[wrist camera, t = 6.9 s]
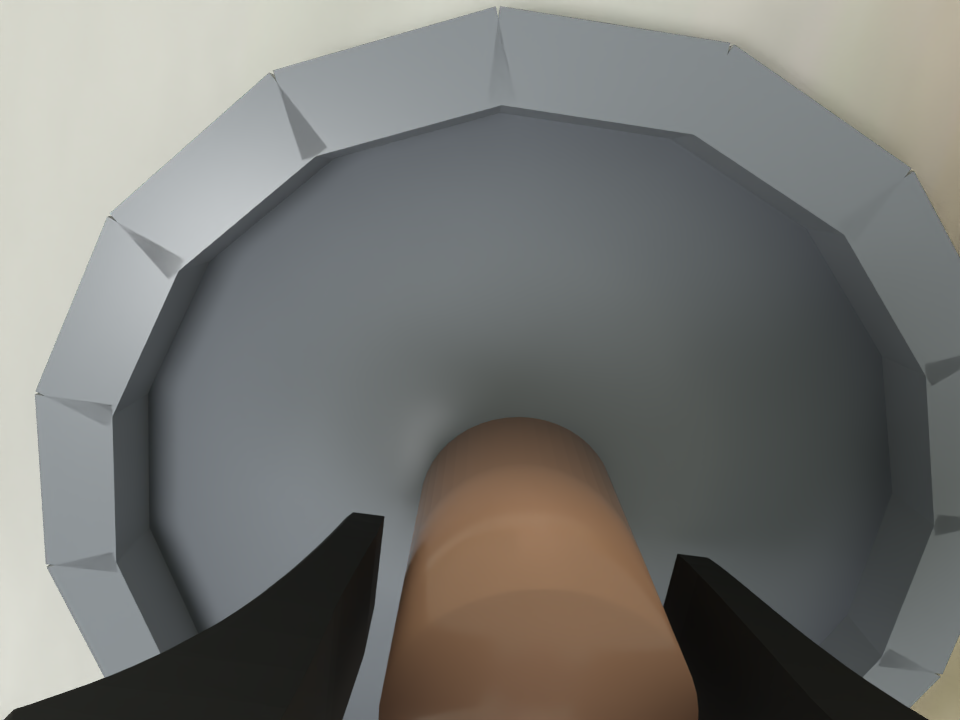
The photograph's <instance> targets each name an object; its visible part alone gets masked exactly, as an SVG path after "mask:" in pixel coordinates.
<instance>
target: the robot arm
mask: <svg viewBox="0 0 960 720" xmlns="http://www.w3.org/2000/svg"><path fill="white" fill-rule="evenodd" d="M384 518H385V516H379V515H372V514H364V513H356V512H353V513H351V514H350V515H349V516H347V517H346V518H345V519H344V520H343V521H342V522H341V523H340V525H339V526H338V527H337V528H336V529H335V530H334V531H333V532H332V533H331V534H330V535H329V536H328V537H327V538H326V539H325V540H324V541H323V542H322V543H321V544H319V545H318V546H317V547H316V548H315V549H314V550H313V551H312V552H311V553H310V554H309V555H307V556H306V557H305V558H304V559H303V560H302V561H301V562H300V563H299V564H297V565H296V566H295V567H294V568H293V569H292V570H290V571H289V572H288V573H287V574H286V575H284V576H283V577H282V578H280V579H279V580H278V581H277V582H275V583H274V584H273V585H272V586H270V587H269V588H268V589H267V590H265V591H264V592H263V593H261V594H260V595H259V596H257V597H256V598H255V599H253V600H252V601H250V602H249V603H248V604H246V605H245V606H243V607H242V608H240V609H239V610H237V611H236V612H234V613H233V614H231V615H230V616H228V617H227V618H225V619H223V620H222V621H220V622H218V623H217V624H215V625H213V626H212V627H210V628H208V629H206V630H204V631H202V632H200V633H199V634H197V635H195V636H193V637H191V638H189V639H187V640H185V641H184V642H182V643H180V644H178V645H176V646H174V647H172V648H171V649H169V650H167V651H165V652H163V653H160V654H158V655H156V656H154V657H152V658H150V659H147V660H145V661H143V662H141V663H139V664H137V665H134V666H132V667H129V668H127V669H125V670H122V671H120V672H118V673H115V674H113V675H110V676H108V677H105V678H103V679H100V680H98V681H95V682H93V683H90V684H87V685H85V686H82V687H79V688H76V689H73V690H70V691H67V692H64V693H62V694H59V695H56V696H53V697H50V698H47V699H44V700H42V701H39V702H36V703H33V704H30V705H27V706H24V707H20V708H17V709H14V710H13V711H12V712H11V713H10V714H9V715H8V716H7V717H6V718H5V719H4V720H343V717H344V714H345V711H346V708H347V705H348V702H349V699H350V696H351V693H352V690H353V687H354V684H355V681H356V678H357V675H358V672H359V669H360V666H361V663H362V660H363V657H364V653H365V648H366V644H367V639H368V635H369V630H370V625H371V621H372V616H373V611H374V606H375V598H376V589H377V580H378V571H379V562H380V553H381V545H382V536H383V527H384ZM663 608H664V610H665V613H666V615H667V618H668V620H669V623H670V625H671V627H672V630H673V632H674V635H675V637H676V640H677V642H678V644H679V647H680V649H681V652H682V654H683V657H684V659H685V661H686V664H687V666H688V669H689V671H690V674H691V676H692V679H693V682H694V686H695V690H696V693H697V701H698V710H699V711H698V720H928V719H926V718H925V717H923V716H922V715H920V714H918V713H917V712H915V711H913V710H912V709H910V708H908V707H907V706H905V705H904V704H902V703H901V702H899V701H898V700H896V699H894V698H893V697H891V696H890V695H888V694H887V693H885V692H884V691H882V690H881V689H879V688H878V687H876V686H875V685H873V684H871V683H870V682H868V681H867V680H865V679H864V678H863V677H861V676H860V675H858V674H857V673H855V672H854V671H853V670H851V669H850V668H848V667H847V666H845V665H844V664H843V663H841V662H840V661H839V660H837V659H836V658H835V657H833V656H832V655H831V654H829V653H828V652H827V651H825V650H824V649H823V648H821V647H820V646H819V645H817V644H816V643H815V642H813V641H812V640H811V639H809V638H808V637H807V636H806V635H804V634H803V633H802V632H800V631H799V630H798V629H797V628H795V627H794V626H793V625H792V624H790V623H789V622H788V621H787V620H785V619H784V618H783V617H782V616H781V615H779V614H778V613H777V612H776V611H774V610H773V609H772V608H771V607H770V606H768V605H767V604H766V603H765V602H764V601H762V600H761V599H760V598H759V597H757V596H756V595H755V594H754V593H753V592H751V591H750V590H749V589H748V588H747V587H745V586H744V585H743V584H742V583H741V582H739V581H738V580H737V579H736V578H734V577H733V576H732V575H731V574H730V573H728V572H727V571H726V570H724V569H723V568H722V567H721V566H719V565H718V564H717V563H715V562H714V561H712V560H711V559H709V558H707V557H700V556H692V555H684V554H677V557H676V561H675V564H674V568H673V572H672V575H671V579H670V583H669V587H668V590H667V594H666V598H665V602H664V605H663Z"/></svg>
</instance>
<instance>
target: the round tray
mask: <svg viewBox="0 0 960 720" xmlns="http://www.w3.org/2000/svg"><path fill="white" fill-rule="evenodd" d="M729 45H730V43H728V42H721V41H715V40H709V39H703V38H696V37H690V36H684V35H677V34H671V33H665V32H659V31H652V30H646V29H640V28H633V27H627V26H621V25H615V24H608V23H602V22H596V21H589V20H583V19H577V18H571V17H564V16H558V15H552V14H545V13H539V12H533V11H527V10H520V9H514V8H508V7H501V6H500V11H499V18H498V15H497V11H496V7H492V8H489V9H485V10H482V11H478V12H475V13H471V14H468V15H464V16H461V17H457V18H454V19H450V20H447V21H444V22H440V23H437V24H433V25H430V26H426V27H423V28H419V29H416V30H412V31H409V32H405V33H402V34H398V35H395V36H391V37H388V38H384V39H381V40H377V41H374V42H370V43H367V44H363V45H360V46H356V47H353V48H350V49H346V50H343V51H339V52H336V53H332V54H329V55H325V56H322V57H318V58H315V59H311V60H308V61H304V62H301V63H297V64H294V65H290V66H287V67H283V68H280V69H276V70H273V72H274V75H273V74H271V73H268V74H267V75H266V76H265V77H264V78H262V79H261V80H260V81H259V82H258V83H257V84H256V85H255V86H253V87H252V88H251V89H250V90H249V91H248V92H247V93H245V94H244V95H243V96H242V97H241V98H240V99H239V100H238V101H236V102H235V103H234V104H233V105H232V106H231V107H230V108H228V109H227V110H226V111H225V112H224V113H223V114H222V115H221V116H219V117H218V118H217V119H216V120H215V121H214V122H213V123H211V124H210V125H209V126H208V127H207V128H206V129H205V130H204V131H202V132H201V133H200V134H199V135H198V136H197V137H196V138H194V139H193V140H192V141H191V142H190V143H189V144H188V145H187V146H185V147H184V148H183V149H182V150H181V151H180V152H179V153H177V154H176V155H175V156H174V157H173V158H172V159H171V160H170V161H168V162H167V163H166V164H165V165H164V166H163V167H162V168H160V169H159V170H158V171H157V172H156V173H155V174H154V175H153V176H151V177H150V178H149V179H148V180H147V181H146V182H145V183H143V184H142V185H141V186H140V187H139V188H138V189H137V190H136V191H134V192H133V193H132V194H131V195H130V196H129V197H128V198H126V199H125V200H124V201H123V202H122V203H121V204H120V205H119V206H117V207H116V208H115V209H114V210H113V211H112V212H111V213H110V214H111V216H109V217H107V219H106V221H105V223H104V226H103V228H102V231H101V233H100V236H99V238H98V241H97V243H96V245H95V248H94V250H93V253H92V255H91V258H90V260H89V262H88V265H87V267H86V270H85V272H84V275H83V277H82V279H81V282H80V284H79V287H78V289H77V292H76V294H75V296H74V299H73V301H72V304H71V306H70V309H69V311H68V313H67V316H66V318H65V321H64V323H63V326H62V328H61V330H60V333H59V335H58V338H57V340H56V343H55V345H54V348H53V350H52V352H51V355H50V357H49V360H48V362H47V365H46V367H45V369H44V372H43V374H42V377H41V379H40V382H39V384H38V386H37V389H36V392H38V393H37V394H35V402H36V418H37V433H38V449H39V465H40V480H41V496H42V511H43V527H44V543H45V558H46V564H50V565H49V566H47V569H48V570H49V572H50V574H51V576H52V578H53V580H54V582H55V584H56V586H57V588H58V590H59V591H60V593H61V595H62V597H63V599H64V601H65V603H66V605H67V607H68V609H69V611H70V612H71V614H72V616H73V618H74V620H75V622H76V624H77V626H78V628H79V630H80V632H81V633H82V635H83V637H84V639H85V641H86V643H87V645H88V647H89V649H90V651H91V653H92V654H93V656H94V658H95V660H96V662H97V664H98V666H99V668H100V670H101V672H102V673H103V675H104V677H108V676H110V675H113V674H115V673H118V672H120V671H122V670H125V669H127V668H129V667H132V666H134V665H137V664H139V663H141V662H143V661H145V660H147V659H150V658H152V657H154V656H156V655H158V654H160V653H163V652H165V651H167V650H169V649H171V648H172V647H174V646H176V645H178V644H180V643H182V642H184V641H185V640H187V639H189V638H191V637H193V636H195V635H197V634H199V633H200V632H202V631H204V630H206V629H208V628H210V627H212V626H213V625H215V624H217V623H218V622H220V621H222V620H223V619H225V618H227V617H228V616H230V615H231V614H233V613H234V612H236V611H237V610H239V609H240V608H242V607H243V606H245V605H246V604H248V603H249V602H250V601H252V600H253V599H255V598H256V597H257V596H259V595H260V594H261V593H263V592H264V591H265V590H267V589H268V588H269V587H270V586H272V585H273V584H274V583H275V582H277V581H278V580H279V579H280V578H282V577H283V576H284V575H286V574H287V573H288V572H289V571H290V570H292V569H293V568H294V567H295V566H296V565H297V564H299V563H300V562H301V561H302V560H303V559H304V558H305V557H306V556H307V555H309V554H310V553H311V552H312V551H313V550H314V549H315V548H316V547H317V546H318V545H319V544H321V543H322V542H323V541H324V540H325V539H326V538H327V537H328V536H329V535H330V534H331V533H332V532H333V531H334V530H335V529H336V528H337V527H338V526H339V525H340V523H341V522H342V521H343V520H344V519H345V518H346V517H347V516H349V515H350V514H351V513H353V512H356V513H364V514H372V515H379V516H385V518H384V527H383V536H382V545H381V553H380V562H379V571H378V580H377V589H376V598H375V606H374V611H373V616H372V621H371V625H370V630H369V635H368V639H367V644H366V648H365V653H364V657H363V660H362V663H361V666H360V669H359V672H358V675H357V678H356V681H355V684H354V687H353V690H352V693H351V696H350V699H349V702H348V705H347V708H346V711H345V714H344V717H343V720H379V704H380V699H381V694H382V688H383V683H384V678H385V673H386V668H387V663H388V658H389V653H390V648H391V643H392V638H393V633H394V628H395V623H396V618H397V613H398V607H399V602H400V597H401V592H402V587H403V582H404V577H405V572H406V567H407V562H408V557H409V552H410V547H411V542H412V537H413V532H414V526H415V521H416V516H417V511H418V506H419V501H420V496H421V491H422V486H423V482H424V479H425V477H426V474H427V472H428V470H429V468H430V466H431V464H432V462H433V461H434V459H435V458H436V457H437V455H438V454H439V452H440V451H441V450H442V449H443V448H444V447H445V446H446V445H447V444H448V443H449V442H451V441H452V440H453V439H454V438H456V437H457V436H458V435H460V434H461V433H463V432H465V431H466V430H468V429H470V428H472V427H474V426H477V425H479V424H481V423H485V422H488V421H491V420H496V419H501V418H509V417H526V418H535V419H540V420H545V421H549V422H552V423H555V424H558V425H560V426H562V427H564V428H566V429H568V430H570V431H571V432H573V433H575V434H576V435H578V436H579V437H580V438H582V439H583V440H584V441H585V442H586V443H587V444H589V445H590V447H591V448H592V449H593V450H594V451H595V452H596V453H597V455H598V456H599V458H600V459H601V461H602V462H603V464H604V466H605V468H606V470H607V472H608V474H609V477H610V479H611V482H612V484H613V486H614V489H615V491H616V494H617V496H618V499H619V501H620V503H621V506H622V508H623V511H624V513H625V516H626V518H627V520H628V523H629V525H630V528H631V530H632V533H633V535H634V537H635V540H636V542H637V545H638V547H639V550H640V552H641V554H642V557H643V559H644V562H645V564H646V567H647V569H648V571H649V574H650V576H651V579H652V581H653V584H654V586H655V589H656V591H657V593H658V596H659V598H660V601H661V603H662V606H663V605H664V602H665V598H666V594H667V590H668V587H669V583H670V579H671V575H672V572H673V568H674V564H675V561H676V557H677V554H684V555H692V556H700V557H707V558H709V559H711V560H712V561H714V562H715V563H717V564H718V565H719V566H721V567H722V568H723V569H724V570H726V571H727V572H728V573H730V574H731V575H732V576H733V577H734V578H736V579H737V580H738V581H739V582H741V583H742V584H743V585H744V586H745V587H747V588H748V589H749V590H750V591H751V592H753V593H754V594H755V595H756V596H757V597H759V598H760V599H761V600H762V601H764V602H765V603H766V604H767V605H768V606H770V607H771V608H772V609H773V610H774V611H776V612H777V613H778V614H779V615H781V616H782V617H783V618H784V619H785V620H787V621H788V622H789V623H790V624H792V625H793V626H794V627H795V628H797V629H798V630H799V631H800V632H802V633H803V634H804V635H806V636H807V637H808V638H809V639H811V640H812V641H813V642H815V643H816V644H817V645H819V646H820V647H821V648H823V649H824V650H825V651H827V652H828V653H829V654H831V655H832V656H833V657H835V658H836V659H837V660H839V661H840V662H841V663H843V664H844V665H845V666H847V667H848V668H850V669H851V670H853V671H854V672H855V673H857V674H858V675H860V676H861V677H863V678H864V679H865V680H867V681H868V682H870V683H871V684H873V685H875V686H876V687H878V688H879V689H881V690H882V691H884V692H885V693H887V694H888V695H890V696H891V697H893V698H894V699H896V700H898V701H899V702H901V703H902V704H904V705H905V706H907V707H908V708H910V707H911V706H912V705H913V704H914V703H915V702H916V701H917V700H918V699H919V698H920V697H921V696H922V695H923V694H924V693H925V692H926V691H927V690H928V689H929V688H930V687H931V686H932V685H933V684H934V683H935V682H936V681H937V680H938V679H939V678H940V676H939V674H943V671H944V669H945V667H946V665H947V662H948V660H949V658H950V655H951V653H952V651H953V648H954V646H955V644H956V642H957V639H958V637H959V635H960V257H959V255H958V253H957V252H956V250H955V248H954V246H953V244H952V242H951V240H950V238H949V236H948V235H947V233H946V231H945V229H944V227H943V225H942V223H941V221H940V220H939V218H938V216H937V214H936V212H935V210H934V208H933V206H932V204H931V203H930V201H929V199H928V197H927V195H926V193H925V191H924V189H923V187H922V186H921V184H920V182H919V180H918V178H917V176H916V174H915V172H914V171H910V169H911V168H910V167H909V166H907V165H906V164H904V163H903V162H902V161H900V160H899V159H897V158H896V157H894V156H893V155H892V154H890V153H889V152H887V151H886V150H884V149H883V148H881V147H880V146H879V145H877V144H876V143H874V142H873V141H871V140H870V139H869V138H867V137H866V136H864V135H863V134H861V133H860V132H859V131H857V130H856V129H854V128H853V127H851V126H850V125H849V124H847V123H846V122H844V121H843V120H841V119H840V118H839V117H837V116H836V115H834V114H833V113H831V112H830V111H829V110H827V109H826V108H824V107H823V106H821V105H820V104H819V103H817V102H816V101H814V100H813V99H811V98H810V97H809V96H807V95H806V94H804V93H803V92H801V91H800V90H798V89H797V88H796V87H794V86H793V85H791V84H790V83H788V82H787V81H786V80H784V79H783V78H781V77H780V76H778V75H777V74H776V73H774V72H773V71H771V70H770V69H768V68H767V67H766V66H764V65H763V64H761V63H760V62H758V61H757V60H756V59H754V58H753V57H751V56H750V55H748V54H747V53H746V52H744V51H743V50H741V49H740V48H738V47H737V46H736V45H732V46H730V47H729Z"/></svg>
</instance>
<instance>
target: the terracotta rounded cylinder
mask: <svg viewBox="0 0 960 720" xmlns="http://www.w3.org/2000/svg"><path fill="white" fill-rule="evenodd" d="M698 711H699V710H698V701H697V693H696V690H695V686H694V682H693V679H692V676H691V674H690V671H689V669H688V666H687V664H686V661H685V659H684V657H683V654H682V652H681V649H680V647H679V644H678V642H677V640H676V637H675V635H674V632H673V630H672V627H671V625H670V623H669V620H668V618H667V615H666V613H665V610H664V608H663V606H662V603H661V601H660V598H659V596H658V593H657V591H656V589H655V586H654V584H653V581H652V579H651V576H650V574H649V571H648V569H647V567H646V564H645V562H644V559H643V557H642V554H641V552H640V550H639V547H638V545H637V542H636V540H635V537H634V535H633V533H632V530H631V528H630V525H629V523H628V520H627V518H626V516H625V513H624V511H623V508H622V506H621V503H620V501H619V499H618V496H617V494H616V491H615V489H614V486H613V484H612V482H611V479H610V477H609V474H608V472H607V470H606V468H605V466H604V464H603V462H602V461H601V459H600V458H599V456H598V455H597V453H596V452H595V451H594V450H593V449H592V448H591V447H590V445H589V444H587V443H586V442H585V441H584V440H583V439H582V438H580V437H579V436H578V435H576V434H575V433H573V432H571V431H570V430H568V429H566V428H564V427H562V426H560V425H558V424H555V423H552V422H549V421H545V420H540V419H535V418H526V417H509V418H501V419H496V420H491V421H488V422H485V423H481V424H479V425H477V426H474V427H472V428H470V429H468V430H466V431H465V432H463V433H461V434H460V435H458V436H457V437H456V438H454V439H453V440H452V441H451V442H449V443H448V444H447V445H446V446H445V447H444V448H443V449H442V450H441V451H440V452H439V454H438V455H437V457H436V458H435V459H434V461H433V462H432V464H431V466H430V468H429V470H428V472H427V474H426V477H425V479H424V482H423V486H422V491H421V496H420V501H419V506H418V511H417V516H416V521H415V526H414V532H413V537H412V542H411V547H410V552H409V557H408V562H407V567H406V572H405V577H404V582H403V587H402V592H401V597H400V602H399V607H398V613H397V618H396V623H395V628H394V633H393V638H392V643H391V648H390V653H389V658H388V663H387V668H386V673H385V678H384V683H383V688H382V694H381V699H380V704H379V720H698Z"/></svg>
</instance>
